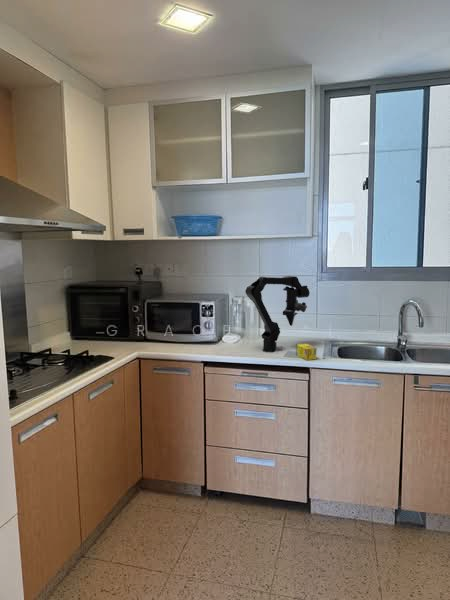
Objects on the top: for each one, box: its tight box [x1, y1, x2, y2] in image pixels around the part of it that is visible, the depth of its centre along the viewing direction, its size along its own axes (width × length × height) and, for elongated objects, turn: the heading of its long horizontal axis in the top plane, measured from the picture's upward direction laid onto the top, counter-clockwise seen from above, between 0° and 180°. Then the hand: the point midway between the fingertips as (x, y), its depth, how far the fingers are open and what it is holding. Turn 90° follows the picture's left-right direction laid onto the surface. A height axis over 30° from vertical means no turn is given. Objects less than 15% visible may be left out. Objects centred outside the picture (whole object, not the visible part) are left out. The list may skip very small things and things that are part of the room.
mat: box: [283, 350, 303, 359], centre depth 219 cm, size 12×12×1 cm
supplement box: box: [296, 343, 318, 361], centre depth 213 cm, size 6×6×11 cm
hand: (291, 325), depth 233 cm, fingers closed
